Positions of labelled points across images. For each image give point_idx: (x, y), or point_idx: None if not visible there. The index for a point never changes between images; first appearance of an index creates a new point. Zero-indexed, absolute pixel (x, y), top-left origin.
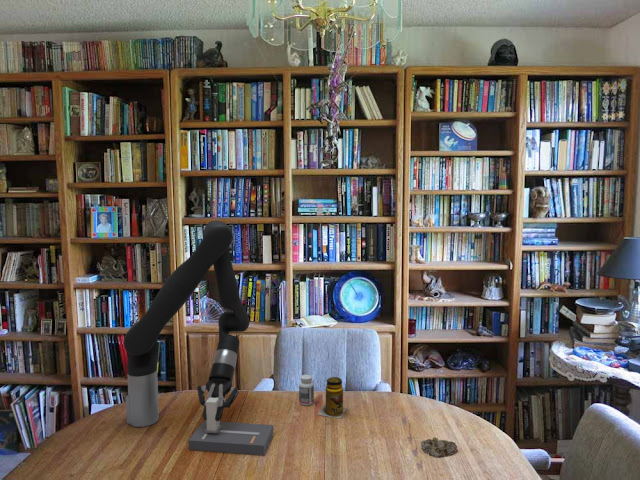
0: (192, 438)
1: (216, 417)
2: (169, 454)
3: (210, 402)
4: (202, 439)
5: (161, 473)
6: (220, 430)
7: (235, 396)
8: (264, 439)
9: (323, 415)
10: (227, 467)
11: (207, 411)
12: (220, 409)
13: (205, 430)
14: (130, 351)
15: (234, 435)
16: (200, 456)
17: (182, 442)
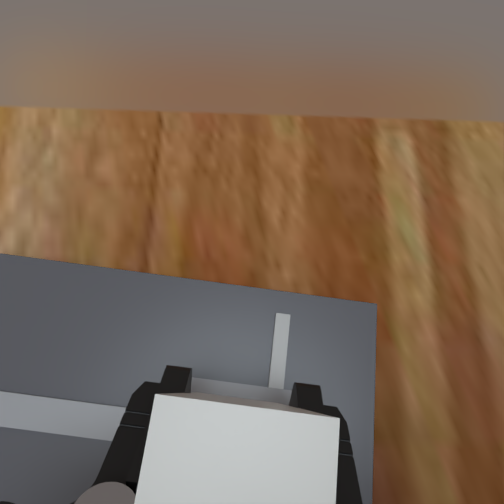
0: (358, 327)
1: (174, 371)
2: (447, 272)
3: (252, 409)
4: (284, 315)
5: (410, 125)
6: None
7: None
8: None
9: None
10: (107, 157)
11: (290, 407)
12: (122, 468)
13: (286, 394)
14: None
15: (55, 370)
16: (269, 251)
17: (429, 404)
